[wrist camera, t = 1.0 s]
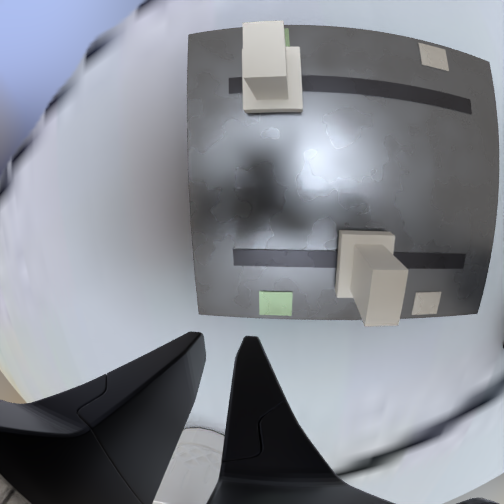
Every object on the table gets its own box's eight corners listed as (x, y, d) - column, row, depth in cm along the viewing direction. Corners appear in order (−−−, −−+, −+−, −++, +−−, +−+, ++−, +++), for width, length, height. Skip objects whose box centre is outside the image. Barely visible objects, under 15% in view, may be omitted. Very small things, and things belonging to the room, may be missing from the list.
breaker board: (475, 68, 13) (489, 61, 11) (465, 302, 18) (478, 314, 16) (198, 45, 16) (188, 34, 14) (207, 301, 21) (198, 315, 19)
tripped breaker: (389, 231, 15) (424, 258, 11) (382, 290, 16) (409, 334, 12) (339, 230, 16) (357, 257, 11) (334, 290, 17) (347, 336, 12)
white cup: (162, 420, 26) (125, 492, 16) (234, 425, 24) (211, 511, 15) (185, 460, 28) (160, 524, 18) (249, 465, 26) (234, 537, 17)
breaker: (299, 53, 13) (300, 11, 8) (302, 112, 14) (306, 88, 9) (244, 55, 14) (225, 15, 9) (246, 113, 15) (225, 91, 10)
